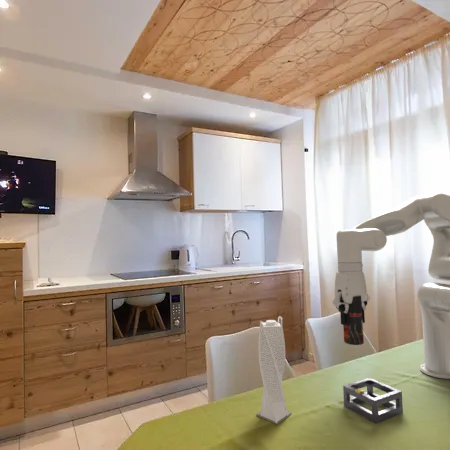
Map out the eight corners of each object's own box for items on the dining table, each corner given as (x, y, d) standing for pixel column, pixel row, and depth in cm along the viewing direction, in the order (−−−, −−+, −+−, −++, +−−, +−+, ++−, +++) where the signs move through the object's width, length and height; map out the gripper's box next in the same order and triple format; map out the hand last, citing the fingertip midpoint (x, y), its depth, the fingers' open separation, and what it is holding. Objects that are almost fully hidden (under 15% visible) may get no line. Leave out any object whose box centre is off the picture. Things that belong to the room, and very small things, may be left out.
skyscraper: (295, 416, 94) (291, 314, 96) (278, 428, 89) (274, 320, 90) (271, 406, 100) (268, 310, 101) (253, 417, 95) (250, 315, 96)
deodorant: (365, 345, 106) (362, 297, 107) (345, 344, 107) (342, 297, 108) (361, 339, 112) (359, 293, 112) (343, 339, 113) (340, 293, 114)
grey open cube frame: (370, 397, 104) (369, 375, 104) (402, 413, 94) (401, 389, 94) (343, 406, 99) (342, 383, 99) (375, 424, 89) (374, 398, 89)
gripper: (360, 265, 118) (362, 317, 117) (321, 268, 110) (324, 325, 109) (378, 266, 111) (381, 322, 110) (338, 270, 103) (341, 330, 103)
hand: (352, 323), depth 110 cm, fingers closed on deodorant, 5 cm apart
